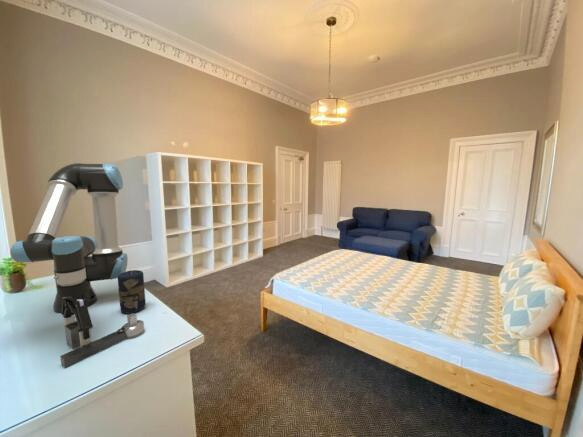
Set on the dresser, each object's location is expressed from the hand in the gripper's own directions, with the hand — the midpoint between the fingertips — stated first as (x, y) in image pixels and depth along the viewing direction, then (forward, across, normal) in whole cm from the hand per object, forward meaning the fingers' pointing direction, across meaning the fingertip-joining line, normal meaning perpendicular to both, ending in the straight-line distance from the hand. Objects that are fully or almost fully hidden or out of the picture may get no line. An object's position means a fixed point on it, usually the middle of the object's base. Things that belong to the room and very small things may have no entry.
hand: (78, 340), depth 86 cm
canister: (+1, -9, +22) cm, 24 cm away
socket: (+1, 0, 0) cm, 1 cm away
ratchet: (+1, +10, +5) cm, 11 cm away
